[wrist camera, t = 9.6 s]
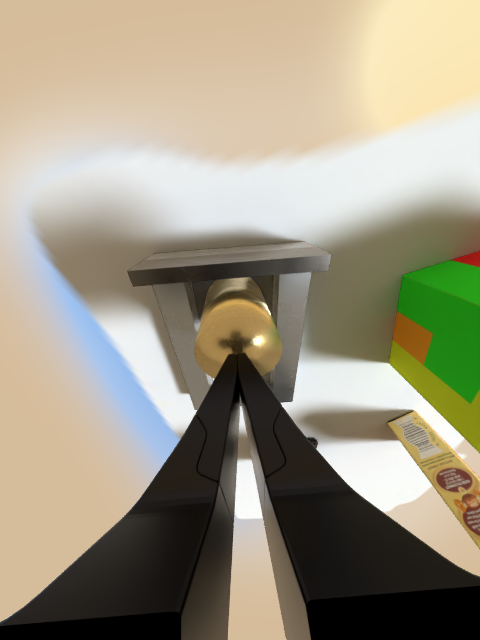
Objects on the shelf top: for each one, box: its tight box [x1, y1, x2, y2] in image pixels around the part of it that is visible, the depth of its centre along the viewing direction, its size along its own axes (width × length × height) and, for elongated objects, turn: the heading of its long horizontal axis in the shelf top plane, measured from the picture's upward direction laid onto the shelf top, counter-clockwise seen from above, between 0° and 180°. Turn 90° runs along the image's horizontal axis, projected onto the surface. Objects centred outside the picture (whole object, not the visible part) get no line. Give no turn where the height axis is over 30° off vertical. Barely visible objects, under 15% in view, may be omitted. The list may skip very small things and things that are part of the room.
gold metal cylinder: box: [194, 277, 282, 379], centre depth 12 cm, size 4×4×6 cm
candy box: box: [388, 411, 480, 549], centre depth 20 cm, size 9×4×15 cm, turn 47°
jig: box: [127, 242, 331, 410], centre depth 14 cm, size 15×10×4 cm, turn 4°
